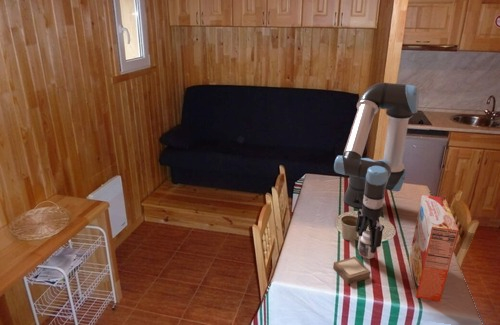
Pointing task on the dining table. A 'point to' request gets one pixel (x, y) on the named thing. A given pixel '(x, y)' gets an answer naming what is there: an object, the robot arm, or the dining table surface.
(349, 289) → the dining table surface
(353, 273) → the base block
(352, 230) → the flower pot
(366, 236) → the pill bottle
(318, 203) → the dining table surface
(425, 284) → the pasta box
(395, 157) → the robot arm
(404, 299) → the dining table surface
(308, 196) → the dining table surface
